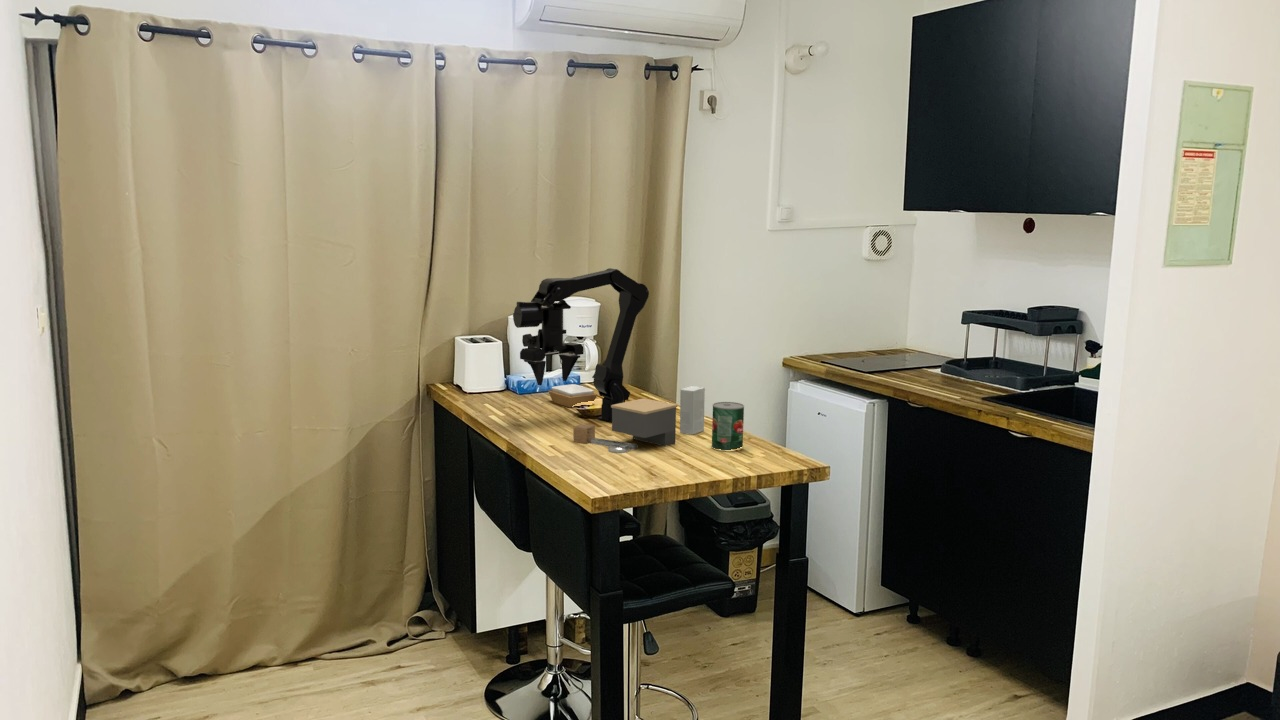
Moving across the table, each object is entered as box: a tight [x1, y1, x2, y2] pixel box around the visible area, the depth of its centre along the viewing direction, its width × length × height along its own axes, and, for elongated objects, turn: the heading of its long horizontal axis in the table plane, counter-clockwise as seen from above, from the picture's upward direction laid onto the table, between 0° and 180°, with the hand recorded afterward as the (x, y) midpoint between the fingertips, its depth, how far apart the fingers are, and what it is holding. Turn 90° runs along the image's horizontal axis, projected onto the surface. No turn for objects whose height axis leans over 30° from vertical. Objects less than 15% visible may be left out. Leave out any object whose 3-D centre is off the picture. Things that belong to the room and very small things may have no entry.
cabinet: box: [611, 398, 678, 447], centre depth 249 cm, size 12×11×10 cm
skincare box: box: [679, 385, 706, 436], centre depth 263 cm, size 6×4×12 cm
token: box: [608, 445, 630, 454], centre depth 243 cm, size 5×5×1 cm
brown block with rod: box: [572, 423, 639, 451], centre depth 248 cm, size 4×17×4 cm, turn 62°
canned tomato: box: [711, 401, 745, 450], centre depth 247 cm, size 8×8×11 cm
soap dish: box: [547, 383, 598, 408], centre depth 298 cm, size 12×10×5 cm
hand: (552, 383), depth 266 cm, fingers open, 9 cm apart
